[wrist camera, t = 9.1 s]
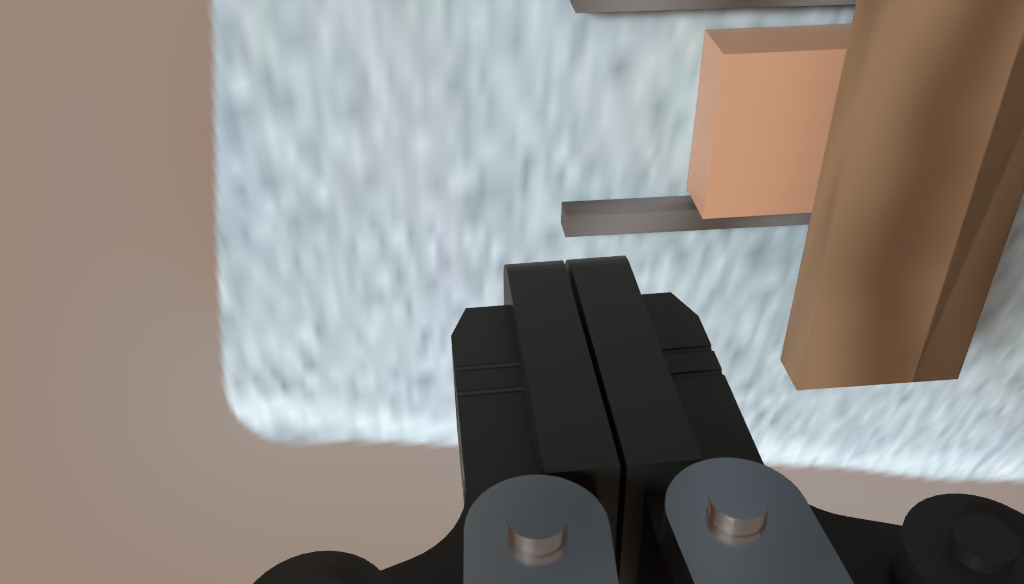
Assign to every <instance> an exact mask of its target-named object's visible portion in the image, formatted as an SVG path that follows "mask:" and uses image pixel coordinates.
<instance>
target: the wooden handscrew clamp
mask: <svg viewBox="0 0 1024 584" xmlns="http://www.w3.org/2000/svg"><path fill="white" fill-rule="evenodd" d="M571 4H572V6H573V8H574V10H575V12H576V13H592V12H624V11H657V10H689V9H721V8H753V7H785V6H817V5H849V4H856V6H855V11H854V16H853V21H852V25H851V30H850V35H849V39H848V44H847V49H846V54H845V58H844V63H843V68H842V72H841V77H840V82H839V87H838V91H837V96H836V101H835V105H834V110H833V115H832V119H831V124H830V129H829V134H828V138H827V143H826V148H825V152H824V157H823V162H822V167H821V171H820V176H819V181H818V185H817V190H816V195H815V200H814V204H813V209H812V212H811V213H794V214H777V215H761V216H744V217H728V218H711V219H702V217H701V215H700V213H699V211H698V209H697V207H696V205H695V203H694V201H693V199H692V198H691V196H676V197H656V198H636V199H615V200H595V201H575V202H562V214H561V224H562V227H563V230H564V234H565V237H577V236H596V235H615V234H634V233H652V232H671V231H690V230H709V229H728V228H747V227H765V226H784V225H803V224H809V228H808V232H807V237H806V242H805V247H804V251H803V256H802V261H801V265H800V270H799V275H798V280H797V284H796V289H795V294H794V298H793V303H792V308H791V313H790V317H789V322H788V327H787V331H786V336H785V341H784V345H783V350H782V355H781V362H782V364H783V365H784V367H785V369H786V371H787V373H788V375H789V377H790V379H791V381H792V382H793V384H794V386H795V388H796V390H807V389H822V388H836V387H850V386H865V385H879V384H893V383H908V382H922V381H936V380H951V379H958V377H959V374H960V371H961V369H962V366H963V363H964V360H965V357H966V354H967V351H968V349H969V346H970V343H971V340H972V337H973V334H974V332H975V329H976V326H977V323H978V320H979V317H980V314H981V312H982V309H983V306H984V303H985V300H986V297H987V295H988V292H989V289H990V286H991V283H992V280H993V277H994V275H995V272H996V269H997V266H998V263H999V260H1000V257H1001V255H1002V252H1003V249H1004V246H1005V243H1006V240H1007V238H1008V235H1009V232H1010V229H1011V226H1012V223H1013V220H1014V218H1015V215H1016V212H1017V209H1018V206H1019V203H1020V201H1021V198H1022V195H1023V192H1024V0H571Z"/></svg>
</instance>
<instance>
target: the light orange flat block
mask: <svg viewBox="0 0 1024 584" xmlns="http://www.w3.org/2000/svg"><path fill="white" fill-rule="evenodd" d="M851 25H852V24H837V25H813V26H790V27H766V28H743V29H719V30H705V37H704V46H703V55H702V63H701V72H700V81H699V89H698V98H697V107H696V115H695V124H694V133H693V141H692V150H691V159H690V167H689V176H688V185H687V190H688V192H689V194H690V196H691V198H692V199H693V201H694V203H695V205H696V207H697V209H698V211H699V213H700V215H701V217H702V219H711V218H728V217H744V216H761V215H777V214H794V213H811V212H812V209H813V204H814V200H815V195H816V190H817V185H818V181H819V176H820V171H821V167H822V162H823V157H824V152H825V148H826V143H827V138H828V134H829V129H830V124H831V119H832V115H833V110H834V105H835V101H836V96H837V91H838V87H839V82H840V77H841V72H842V68H843V63H844V58H845V54H846V49H847V44H848V39H849V35H850V30H851Z"/></svg>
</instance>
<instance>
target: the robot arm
mask: <svg viewBox="0 0 1024 584" xmlns="http://www.w3.org/2000/svg"><path fill="white" fill-rule="evenodd" d="M451 341H452V357H453V372H454V387H455V403H456V418H457V432H458V443H459V453H460V464H461V475H462V486H463V496H464V509H463V511H462V514H461V516H460V518H459V520H458V522H457V523H456V525H455V526H454V528H453V529H452V530H451V531H450V532H449V534H448V535H447V536H446V537H445V538H444V539H443V540H441V541H440V542H439V543H438V544H437V545H436V546H434V547H433V548H431V549H429V550H428V551H426V552H424V553H423V554H421V555H418V556H416V557H414V558H412V559H410V560H407V561H404V562H402V563H399V564H396V565H394V566H392V567H389V568H386V569H384V570H381V571H380V570H379V569H378V568H377V567H376V566H375V565H373V564H372V563H370V562H369V561H367V560H365V559H363V558H361V557H359V556H356V555H353V554H349V553H345V552H338V551H316V552H311V553H306V554H302V555H299V556H296V557H293V558H290V559H288V560H286V561H283V562H281V563H280V564H277V565H276V566H274V567H273V568H271V569H270V570H268V571H267V572H265V573H264V574H263V575H262V576H261V577H260V578H259V579H257V580H256V581H255V582H254V583H253V584H1024V514H1022V513H1020V512H1018V511H1016V510H1014V509H1012V508H1010V507H1008V506H1006V505H1004V504H1002V503H999V502H996V501H993V500H991V499H988V498H984V497H979V496H975V495H968V494H943V495H936V496H933V497H930V498H927V499H925V500H923V501H921V502H919V503H917V504H916V505H915V506H914V507H913V508H912V509H911V510H910V511H909V512H908V514H907V515H906V517H905V520H904V523H903V525H902V526H901V525H895V524H889V523H883V522H877V521H870V520H865V519H859V518H853V517H846V516H842V515H838V514H833V513H830V512H827V511H824V510H821V509H818V508H816V507H814V506H811V505H809V504H808V503H807V501H806V499H805V497H804V496H803V495H802V493H801V492H800V490H799V489H798V488H797V487H796V486H795V485H794V484H793V483H792V482H791V481H790V480H789V479H787V478H786V477H785V476H783V475H782V474H781V473H779V472H777V471H775V470H774V469H772V468H770V467H767V466H765V465H764V463H763V461H762V459H761V457H760V455H759V452H758V450H757V448H756V445H755V443H754V441H753V439H752V436H751V434H750V432H749V430H748V427H747V425H746V423H745V421H744V418H743V416H742V414H741V411H740V409H739V407H738V405H737V402H736V400H735V398H734V396H733V393H732V391H731V389H730V387H729V384H728V382H727V380H726V377H725V375H722V368H721V366H720V364H719V362H718V359H717V357H716V355H715V353H714V351H712V350H711V343H710V341H709V339H708V337H707V334H706V332H705V330H704V328H703V325H702V323H701V321H700V319H699V316H698V315H697V314H695V313H694V312H693V311H692V310H691V309H690V308H688V307H687V306H686V305H685V304H684V303H683V302H681V301H680V300H679V299H678V298H677V297H676V296H674V295H673V294H672V293H671V292H668V293H655V294H642V295H641V293H640V290H639V288H638V285H637V282H636V280H635V277H634V274H633V272H632V269H631V266H630V264H629V261H628V259H627V257H626V256H612V257H599V258H585V259H571V260H566V263H565V264H564V261H563V260H561V261H547V262H534V263H520V264H506V265H504V305H502V306H489V307H476V308H466V309H465V311H464V313H463V315H462V316H461V318H460V320H459V322H458V324H457V326H456V328H455V330H454V332H453V333H452V335H451Z"/></svg>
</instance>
